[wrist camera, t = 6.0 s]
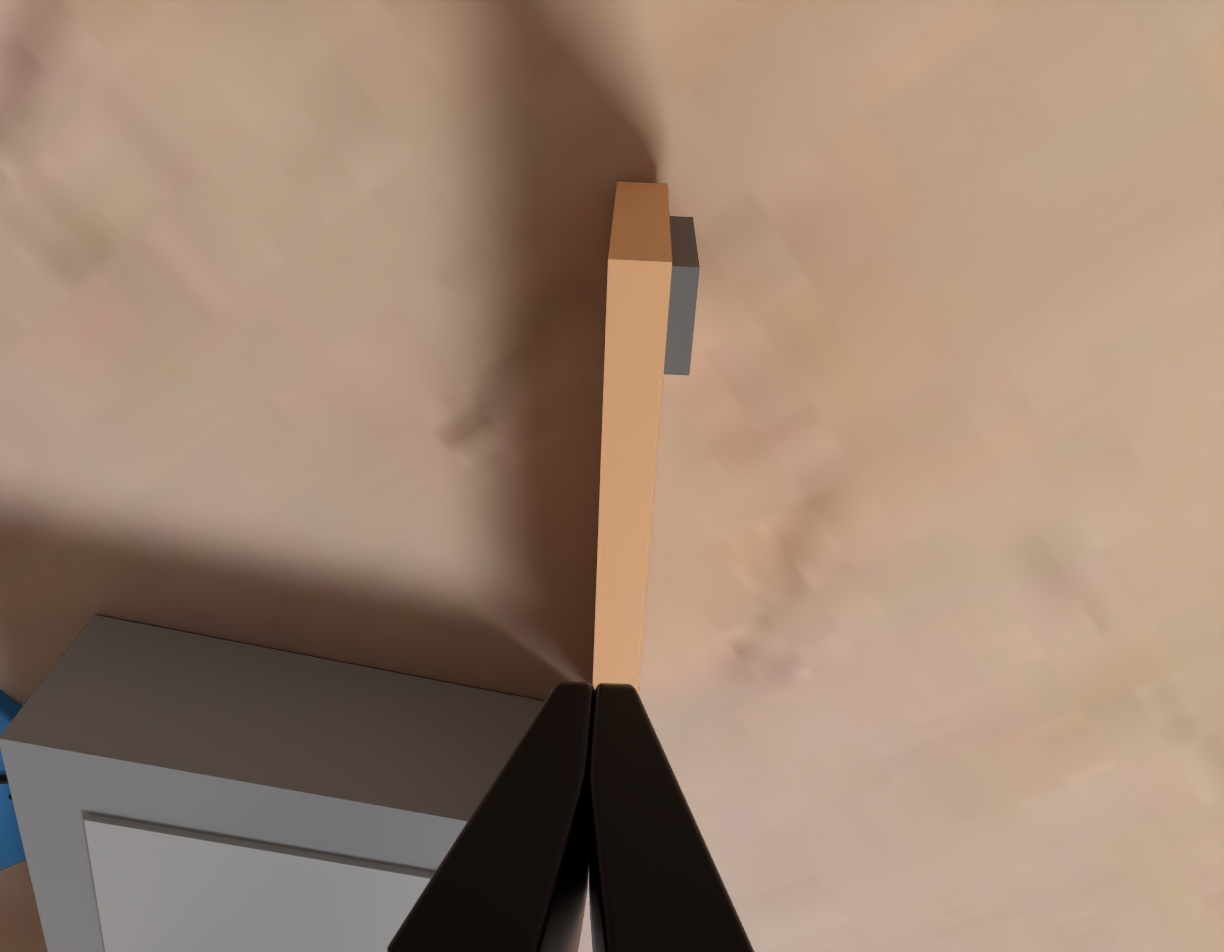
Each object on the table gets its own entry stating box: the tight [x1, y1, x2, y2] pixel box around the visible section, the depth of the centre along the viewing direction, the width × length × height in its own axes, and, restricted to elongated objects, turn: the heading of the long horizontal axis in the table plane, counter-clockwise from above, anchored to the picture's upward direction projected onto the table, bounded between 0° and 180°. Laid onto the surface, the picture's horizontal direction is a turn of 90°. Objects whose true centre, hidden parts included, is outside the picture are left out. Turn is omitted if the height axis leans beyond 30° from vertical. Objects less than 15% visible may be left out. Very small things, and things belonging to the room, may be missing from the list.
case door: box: [593, 181, 699, 694], centre depth 16 cm, size 1×12×4 cm, turn 178°
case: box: [0, 615, 589, 952], centre depth 23 cm, size 16×12×4 cm
